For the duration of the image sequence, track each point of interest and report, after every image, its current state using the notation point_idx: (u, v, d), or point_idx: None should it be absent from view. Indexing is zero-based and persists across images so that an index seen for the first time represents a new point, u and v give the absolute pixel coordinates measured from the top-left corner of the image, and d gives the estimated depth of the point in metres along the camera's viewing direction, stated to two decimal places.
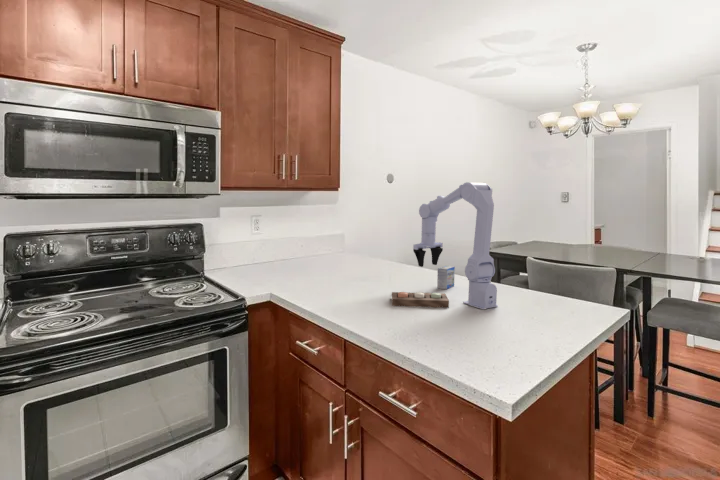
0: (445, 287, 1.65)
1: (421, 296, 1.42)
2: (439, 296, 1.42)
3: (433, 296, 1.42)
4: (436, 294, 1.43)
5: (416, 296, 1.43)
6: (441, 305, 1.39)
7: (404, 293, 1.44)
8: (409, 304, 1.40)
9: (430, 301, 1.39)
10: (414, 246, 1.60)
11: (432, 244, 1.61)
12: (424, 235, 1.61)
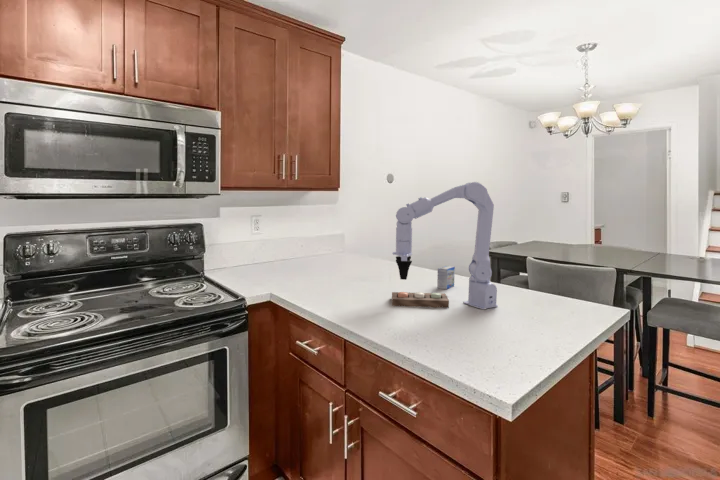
0: (445, 287, 1.65)
1: (421, 296, 1.42)
2: (439, 296, 1.42)
3: (433, 296, 1.42)
4: (436, 294, 1.43)
5: (416, 296, 1.43)
6: (441, 305, 1.39)
7: (404, 293, 1.44)
8: (409, 304, 1.40)
9: (430, 301, 1.39)
10: (403, 257, 1.36)
11: (411, 252, 1.42)
12: (405, 243, 1.40)
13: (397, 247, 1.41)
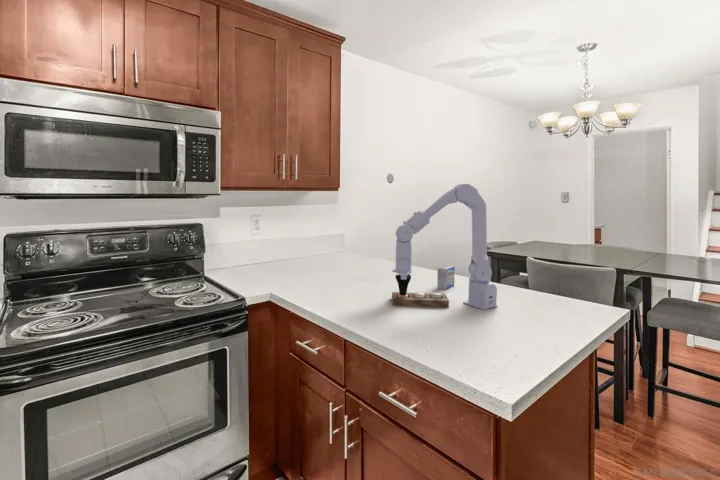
0: (445, 287, 1.65)
1: (421, 296, 1.42)
2: (439, 296, 1.42)
3: (433, 296, 1.42)
4: (436, 294, 1.43)
5: (416, 296, 1.43)
6: (441, 305, 1.39)
7: (404, 295, 1.44)
8: (409, 304, 1.40)
9: (430, 301, 1.39)
10: (403, 276, 1.36)
11: (411, 270, 1.43)
12: (405, 261, 1.40)
13: (397, 265, 1.42)
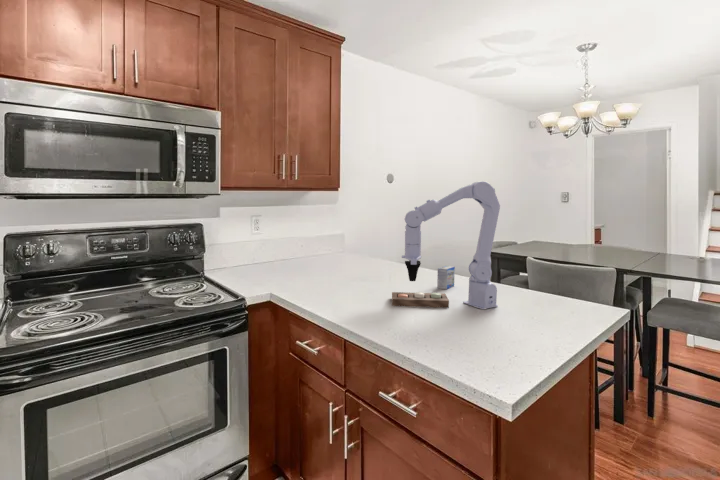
0: (445, 287, 1.65)
1: (421, 296, 1.42)
2: (439, 296, 1.42)
3: (433, 296, 1.42)
4: (436, 294, 1.43)
5: (416, 296, 1.43)
6: (441, 305, 1.39)
7: (404, 295, 1.44)
8: (409, 304, 1.40)
9: (430, 301, 1.39)
10: (413, 261, 1.35)
11: (420, 256, 1.42)
12: (414, 247, 1.39)
13: (406, 250, 1.41)
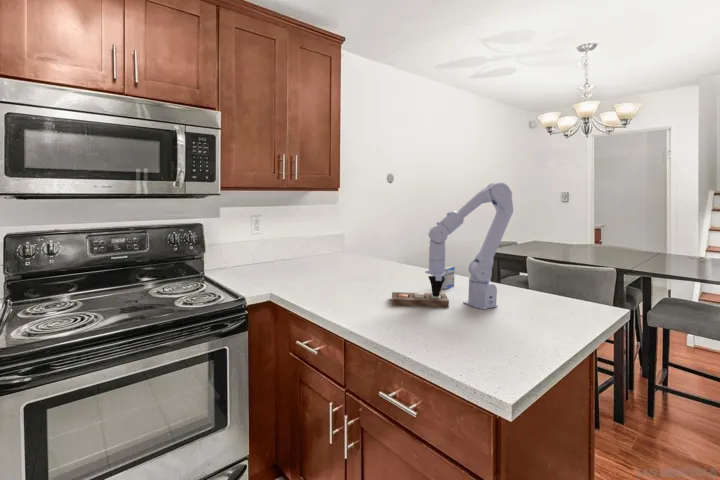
0: (445, 287, 1.65)
1: (421, 296, 1.42)
2: None
3: None
4: None
5: (416, 296, 1.43)
6: (441, 305, 1.39)
7: (404, 295, 1.44)
8: (409, 304, 1.40)
9: (430, 301, 1.39)
10: (438, 277, 1.35)
11: (444, 271, 1.42)
12: (439, 262, 1.39)
13: (430, 266, 1.41)
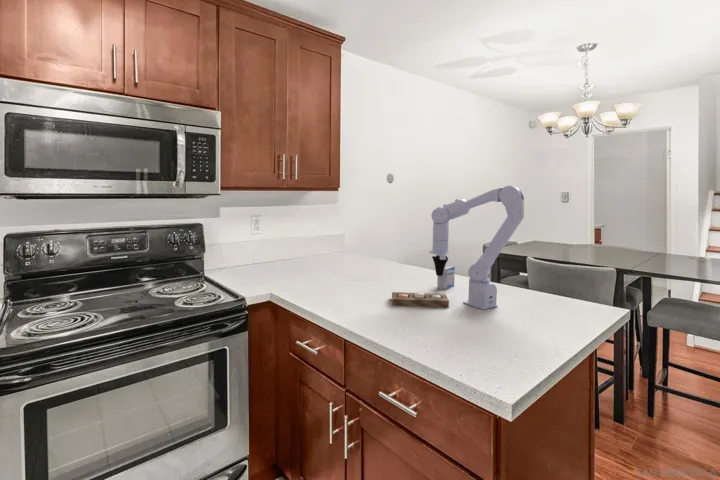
0: (445, 287, 1.65)
1: (421, 296, 1.42)
2: None
3: None
4: (436, 296, 1.43)
5: (416, 296, 1.43)
6: (441, 305, 1.39)
7: (404, 295, 1.44)
8: (409, 304, 1.40)
9: (430, 301, 1.39)
10: (442, 256, 1.41)
11: None
12: (443, 242, 1.44)
13: (434, 246, 1.46)
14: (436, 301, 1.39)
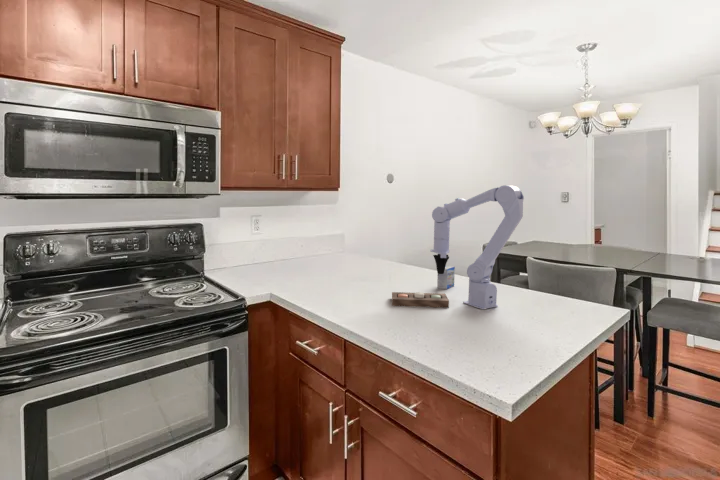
0: (445, 287, 1.65)
1: (421, 296, 1.42)
2: None
3: None
4: (436, 296, 1.43)
5: (416, 296, 1.43)
6: (441, 305, 1.39)
7: (404, 295, 1.44)
8: (409, 304, 1.40)
9: (430, 301, 1.39)
10: (442, 254, 1.43)
11: None
12: (444, 241, 1.46)
13: (435, 245, 1.48)
14: (436, 301, 1.39)
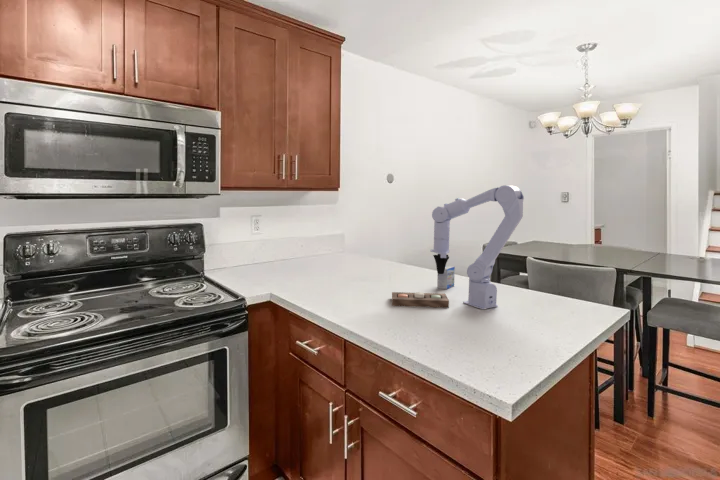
0: (445, 287, 1.65)
1: (421, 296, 1.42)
2: None
3: None
4: (436, 296, 1.43)
5: (416, 296, 1.43)
6: (441, 305, 1.39)
7: (404, 295, 1.44)
8: (409, 304, 1.40)
9: (430, 301, 1.39)
10: (442, 254, 1.43)
11: None
12: (444, 241, 1.46)
13: (435, 245, 1.48)
14: (436, 301, 1.39)
